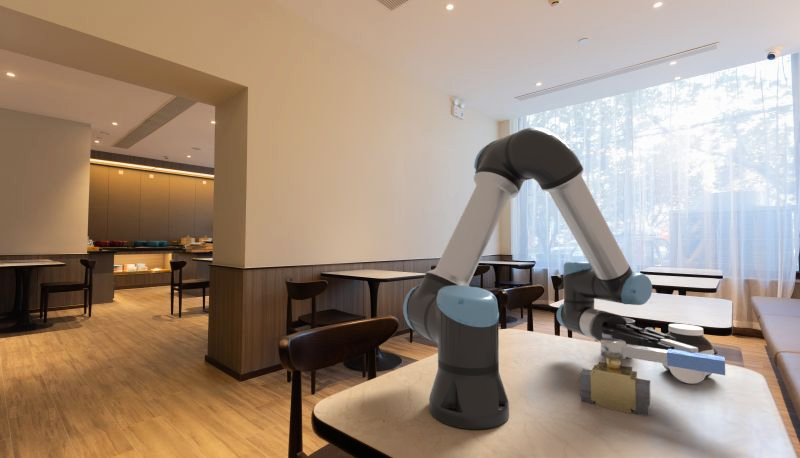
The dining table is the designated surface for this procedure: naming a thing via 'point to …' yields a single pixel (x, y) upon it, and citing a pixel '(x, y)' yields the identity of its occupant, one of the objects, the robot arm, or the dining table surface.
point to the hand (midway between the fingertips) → (694, 355)
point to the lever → (663, 356)
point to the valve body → (615, 387)
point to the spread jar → (693, 338)
